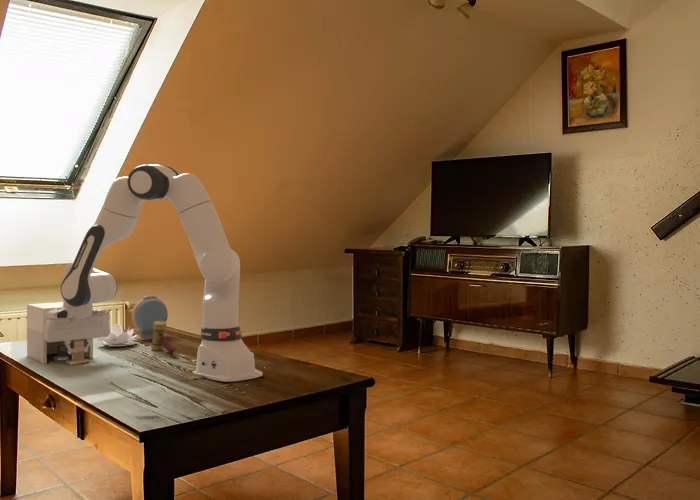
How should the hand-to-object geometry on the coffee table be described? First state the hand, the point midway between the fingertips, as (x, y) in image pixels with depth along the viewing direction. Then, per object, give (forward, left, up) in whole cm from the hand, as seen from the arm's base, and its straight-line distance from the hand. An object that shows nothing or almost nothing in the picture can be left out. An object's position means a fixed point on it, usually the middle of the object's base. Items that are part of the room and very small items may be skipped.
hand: (77, 353), depth 209 cm
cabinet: (+15, +1, -3) cm, 16 cm away
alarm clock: (+32, -40, -4) cm, 51 cm away
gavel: (-2, -30, -5) cm, 30 cm away
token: (+11, +2, -4) cm, 12 cm away
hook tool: (0, 0, -3) cm, 3 cm away
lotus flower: (+22, -23, -4) cm, 32 cm away
